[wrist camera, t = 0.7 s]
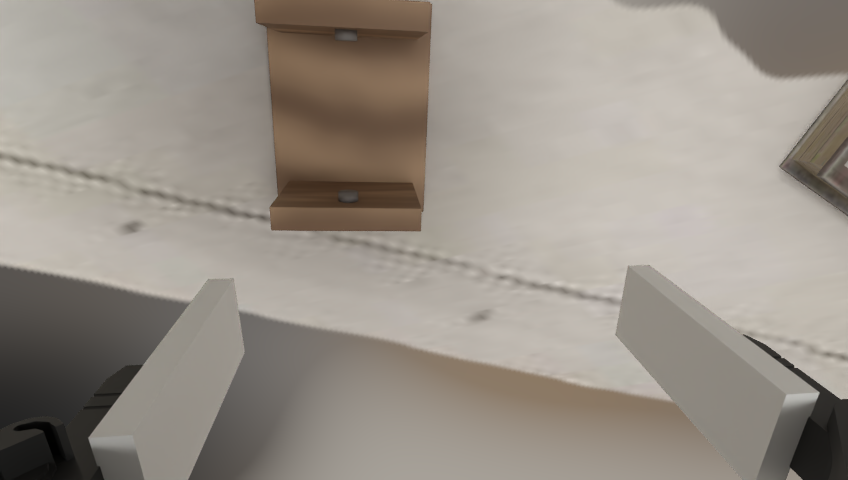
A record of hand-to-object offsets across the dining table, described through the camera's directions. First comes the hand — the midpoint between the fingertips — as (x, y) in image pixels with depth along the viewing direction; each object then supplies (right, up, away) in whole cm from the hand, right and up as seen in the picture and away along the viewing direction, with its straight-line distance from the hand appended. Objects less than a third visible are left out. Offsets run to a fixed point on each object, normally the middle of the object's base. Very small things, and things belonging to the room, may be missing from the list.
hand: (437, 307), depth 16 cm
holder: (-6, +13, +22) cm, 26 cm away
